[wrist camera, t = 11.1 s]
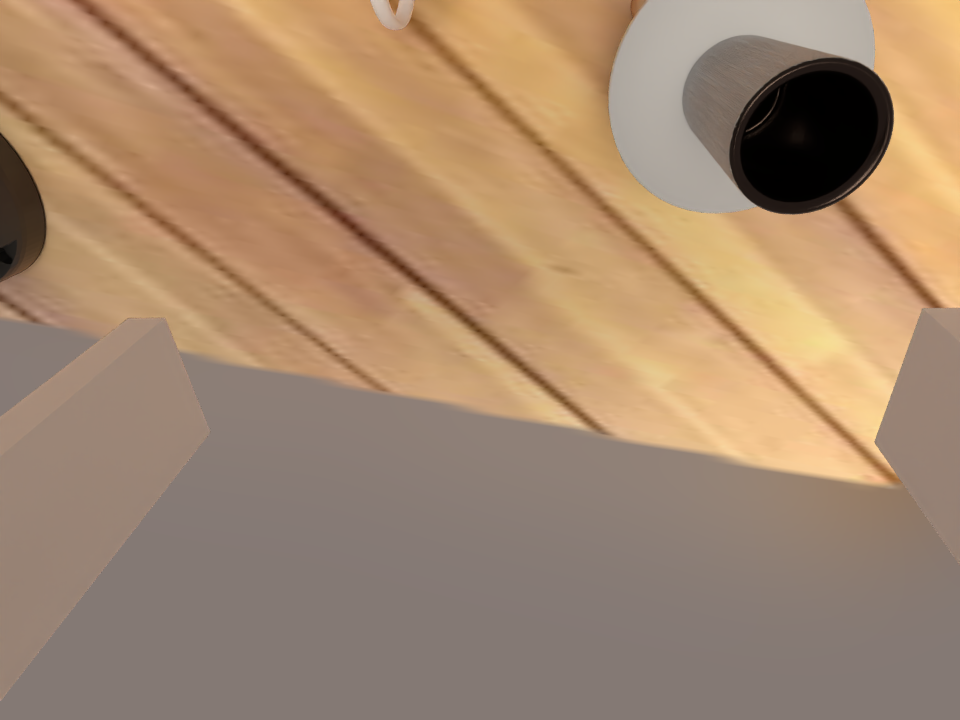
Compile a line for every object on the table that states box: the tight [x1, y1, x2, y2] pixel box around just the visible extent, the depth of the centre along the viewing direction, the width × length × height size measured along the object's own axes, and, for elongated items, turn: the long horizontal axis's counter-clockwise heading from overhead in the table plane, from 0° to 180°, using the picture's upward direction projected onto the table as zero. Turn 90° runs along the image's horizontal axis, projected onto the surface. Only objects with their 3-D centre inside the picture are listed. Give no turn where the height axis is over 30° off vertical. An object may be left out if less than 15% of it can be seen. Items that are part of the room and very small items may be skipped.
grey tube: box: [682, 35, 894, 214], centre depth 22 cm, size 4×4×10 cm
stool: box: [608, 0, 875, 213], centre depth 31 cm, size 11×11×10 cm
